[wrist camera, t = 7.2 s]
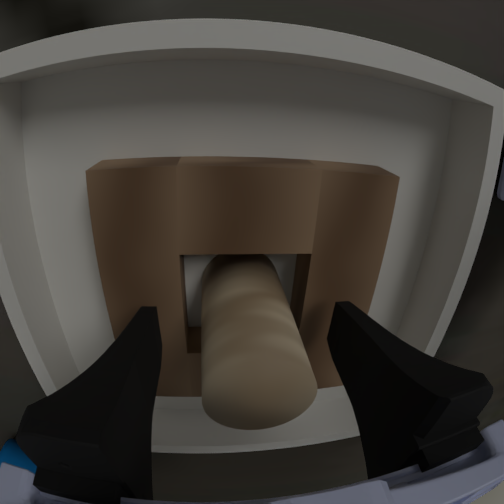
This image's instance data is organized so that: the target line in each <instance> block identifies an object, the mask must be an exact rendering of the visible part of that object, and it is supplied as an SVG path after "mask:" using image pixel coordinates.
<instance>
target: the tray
mask: <svg viewBox="0 0 504 504" xmlns="http://www.w3.org/2000/svg"><path fill="white" fill-rule="evenodd" d="M503 136H504V89H502V88H500V87H498V86H496V85H494V84H492V83H490V82H488V81H486V80H484V79H481V78H479V77H477V76H475V75H473V74H470V73H468V72H466V71H463V70H461V69H459V68H456V67H454V66H451V65H449V64H446V63H444V62H441V61H438V60H436V59H433V58H430V57H428V56H425V55H422V54H419V53H416V52H413V51H410V50H407V49H403V48H400V47H397V46H393V45H390V44H386V43H383V42H379V41H375V40H372V39H368V38H363V37H359V36H355V35H351V34H346V33H341V32H336V31H331V30H326V29H320V28H314V27H308V26H301V25H294V24H286V23H277V22H267V21H255V20H239V19H171V20H155V21H143V22H134V23H125V24H117V25H110V26H104V27H98V28H92V29H86V30H81V31H76V32H71V33H67V34H62V35H58V36H54V37H50V38H46V39H42V40H39V41H35V42H32V43H28V44H25V45H22V46H18V47H15V48H12V49H9V50H6V51H3V52H0V295H1V298H2V301H3V303H4V306H5V309H6V311H7V314H8V316H9V319H10V321H11V324H12V326H13V328H14V331H15V333H16V335H17V338H18V340H19V342H20V344H21V347H22V349H23V351H24V353H25V355H26V357H27V359H28V361H29V363H30V365H31V367H32V369H33V371H34V373H35V375H36V377H37V379H38V381H39V383H40V385H41V386H42V388H43V390H44V392H45V394H46V395H47V396H49V395H51V394H52V393H54V392H56V391H57V390H59V389H61V388H62V387H64V386H65V385H67V384H68V383H70V382H71V381H72V380H74V379H75V378H76V377H77V376H79V375H80V374H81V373H83V372H84V371H85V370H86V369H88V368H89V367H90V366H91V365H92V364H93V363H94V362H95V361H96V360H97V359H98V358H99V357H100V356H101V355H102V354H103V353H104V352H105V351H106V350H107V349H108V348H109V347H110V345H111V344H112V343H113V342H114V341H115V339H114V335H113V331H112V327H111V323H110V319H109V315H108V311H107V306H106V302H105V297H104V293H103V288H102V283H101V278H100V273H99V268H98V263H97V257H96V251H95V245H94V239H93V232H92V225H91V218H90V210H89V202H88V193H87V183H86V172H85V171H86V170H88V169H89V168H91V167H92V166H94V165H95V164H97V163H98V162H100V161H101V160H111V159H127V158H148V157H184V156H232V157H268V158H290V159H306V160H321V161H334V162H345V163H356V164H365V165H375V166H379V167H381V168H383V169H385V170H387V171H389V172H391V173H393V174H395V175H397V176H399V177H400V180H399V185H398V191H397V196H396V202H395V207H394V212H393V217H392V222H391V226H390V231H389V235H388V240H387V244H386V248H385V253H384V257H383V261H382V265H381V269H380V273H379V276H378V280H377V284H376V288H375V291H374V295H373V298H372V302H371V305H370V309H369V312H368V316H369V317H371V318H372V319H373V320H375V321H376V322H377V323H379V324H380V325H381V326H383V327H384V328H385V329H387V330H388V331H389V332H391V333H392V334H394V335H395V336H397V337H398V338H400V339H401V340H403V341H404V342H406V343H407V344H409V345H411V346H413V347H414V348H416V349H418V350H420V351H421V352H423V353H425V354H427V355H430V356H432V357H434V355H435V353H436V351H437V349H438V347H439V345H440V343H441V341H442V339H443V337H444V335H445V332H446V330H447V328H448V326H449V324H450V321H451V319H452V317H453V314H454V312H455V310H456V307H457V305H458V302H459V300H460V297H461V295H462V292H463V290H464V287H465V285H466V282H467V279H468V276H469V274H470V271H471V268H472V265H473V262H474V259H475V256H476V253H477V250H478V247H479V244H480V240H481V237H482V234H483V230H484V227H485V223H486V219H487V216H488V212H489V208H490V204H491V200H492V195H493V191H494V187H495V182H496V177H497V172H498V167H499V161H500V155H501V149H502V143H503ZM217 255H218V254H209V255H184V269H185V286H186V301H187V315H188V327H201V308H202V277H203V273H204V270H205V268H206V266H207V265H208V263H209V262H210V261H211V260H212V259H213V258H214V257H216V256H217ZM264 255H266V256H267V257H268V258H269V259H270V260H271V261H272V263H273V264H274V266H275V268H276V271H277V274H278V276H279V279H280V282H281V285H282V287H283V290H284V293H285V295H286V298H287V301H288V304H289V306H290V302H291V295H292V288H293V281H294V273H295V265H296V258H297V254H264ZM355 436H360V433H359V429H358V425H357V421H356V418H355V414H354V411H353V407H352V405H351V402H350V399H349V397H348V395H347V392H346V390H345V388H344V385H343V386H336V387H329V388H322V389H317V395H316V397H315V400H314V401H313V403H312V404H311V406H310V407H309V408H308V409H307V410H306V411H305V412H304V413H302V414H301V415H300V416H298V417H296V418H295V419H293V420H291V421H289V422H287V423H284V424H282V425H279V426H276V427H272V428H267V429H260V430H241V429H234V428H230V427H227V426H224V425H221V424H219V423H217V422H215V421H214V420H213V419H211V418H210V417H209V416H208V415H207V414H206V412H205V411H204V409H203V406H202V397H165V396H156V398H155V404H154V410H153V418H152V439H151V452H161V453H230V452H248V451H261V450H271V449H281V448H289V447H297V446H304V445H311V444H318V443H324V442H329V441H335V440H340V439H345V438H350V437H355Z"/></svg>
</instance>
